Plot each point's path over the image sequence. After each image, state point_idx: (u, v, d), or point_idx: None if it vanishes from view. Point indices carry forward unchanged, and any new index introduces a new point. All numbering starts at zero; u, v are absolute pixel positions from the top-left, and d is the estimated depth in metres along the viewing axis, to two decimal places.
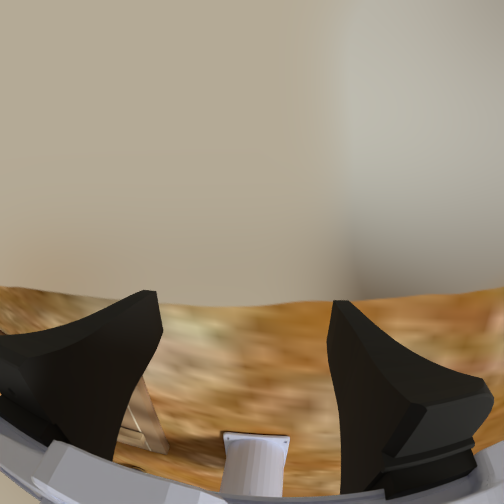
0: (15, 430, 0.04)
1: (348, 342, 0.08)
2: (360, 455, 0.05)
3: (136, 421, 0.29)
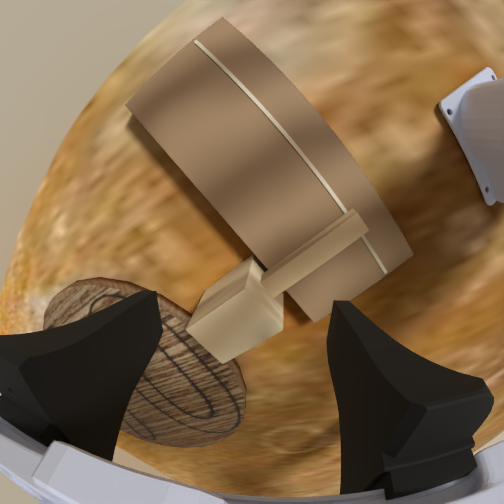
0: (15, 430, 0.04)
1: (348, 342, 0.08)
2: (360, 454, 0.05)
3: (325, 182, 0.17)
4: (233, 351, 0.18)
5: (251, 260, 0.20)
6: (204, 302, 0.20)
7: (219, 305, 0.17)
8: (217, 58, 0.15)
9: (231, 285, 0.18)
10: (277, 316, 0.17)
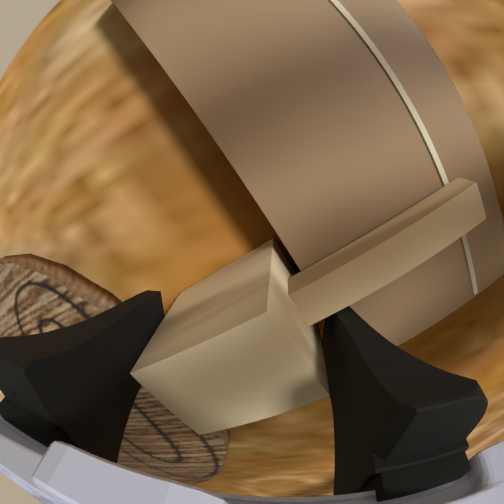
0: (19, 433, 0.04)
1: (342, 342, 0.08)
2: (352, 455, 0.05)
3: (421, 123, 0.08)
4: (222, 421, 0.08)
5: (270, 249, 0.10)
6: (173, 319, 0.10)
7: (200, 339, 0.07)
8: None
9: (229, 295, 0.09)
10: (319, 367, 0.08)
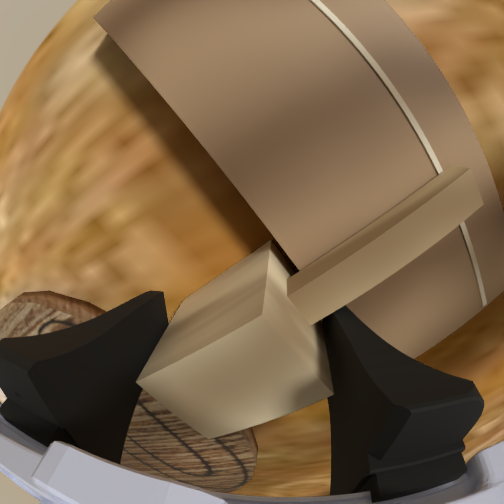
0: (22, 435, 0.04)
1: (338, 342, 0.08)
2: (348, 456, 0.05)
3: (432, 153, 0.08)
4: (229, 425, 0.08)
5: (268, 251, 0.10)
6: (176, 327, 0.10)
7: (200, 345, 0.07)
8: None
9: (228, 299, 0.09)
10: (322, 366, 0.08)
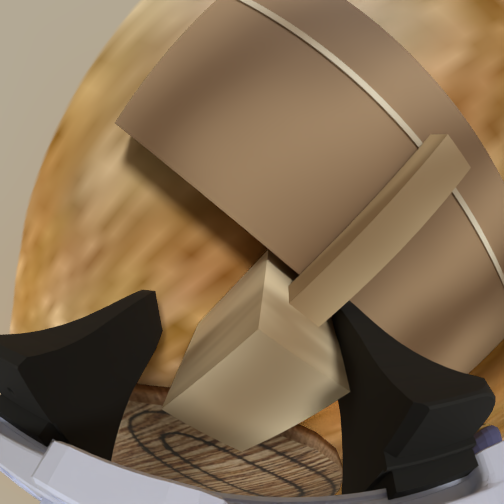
0: (14, 429, 0.04)
1: (349, 342, 0.08)
2: (361, 454, 0.05)
3: (476, 222, 0.09)
4: (257, 435, 0.08)
5: (265, 262, 0.11)
6: (192, 350, 0.10)
7: (210, 366, 0.07)
8: (282, 17, 0.07)
9: (233, 317, 0.09)
10: (334, 365, 0.08)
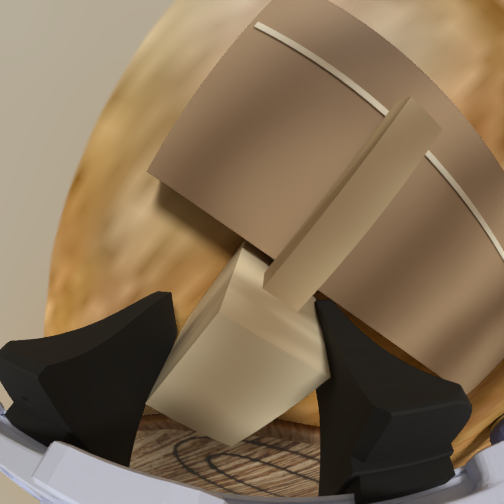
0: (29, 439, 0.04)
1: (327, 342, 0.08)
2: (334, 457, 0.05)
3: (496, 240, 0.09)
4: (242, 428, 0.08)
5: (241, 250, 0.10)
6: (176, 345, 0.10)
7: (182, 355, 0.07)
8: (313, 53, 0.07)
9: (207, 306, 0.09)
10: (313, 350, 0.08)
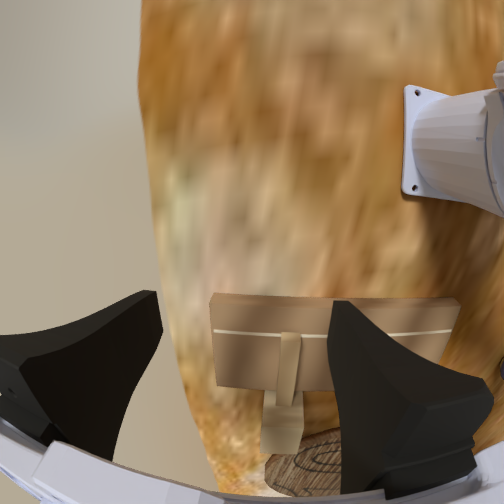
0: (15, 430, 0.04)
1: (348, 342, 0.08)
2: (360, 455, 0.05)
3: None
4: (294, 447, 0.21)
5: None
6: None
7: None
8: (241, 331, 0.21)
9: None
10: (297, 420, 0.21)
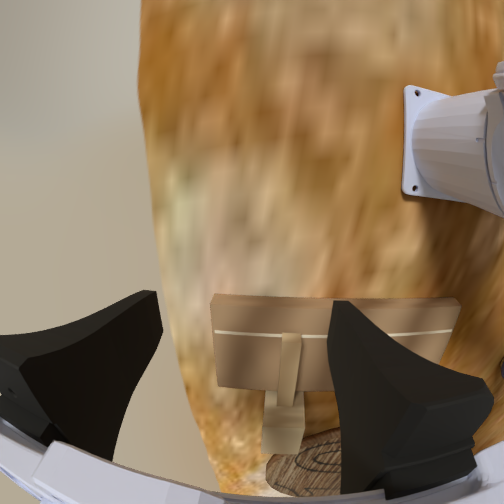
0: (15, 430, 0.04)
1: (348, 342, 0.08)
2: (360, 455, 0.05)
3: None
4: (295, 447, 0.21)
5: None
6: None
7: (262, 437, 0.21)
8: (242, 332, 0.21)
9: None
10: (298, 420, 0.21)
